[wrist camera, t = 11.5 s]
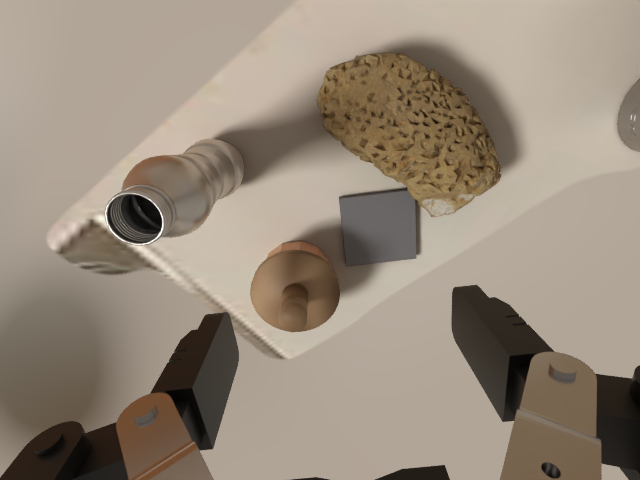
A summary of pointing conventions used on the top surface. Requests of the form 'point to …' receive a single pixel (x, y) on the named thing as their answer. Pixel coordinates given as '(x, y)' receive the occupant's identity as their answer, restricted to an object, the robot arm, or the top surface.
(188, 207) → the plastic bottle
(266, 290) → the lid
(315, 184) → the top surface
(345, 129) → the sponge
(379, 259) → the mat
